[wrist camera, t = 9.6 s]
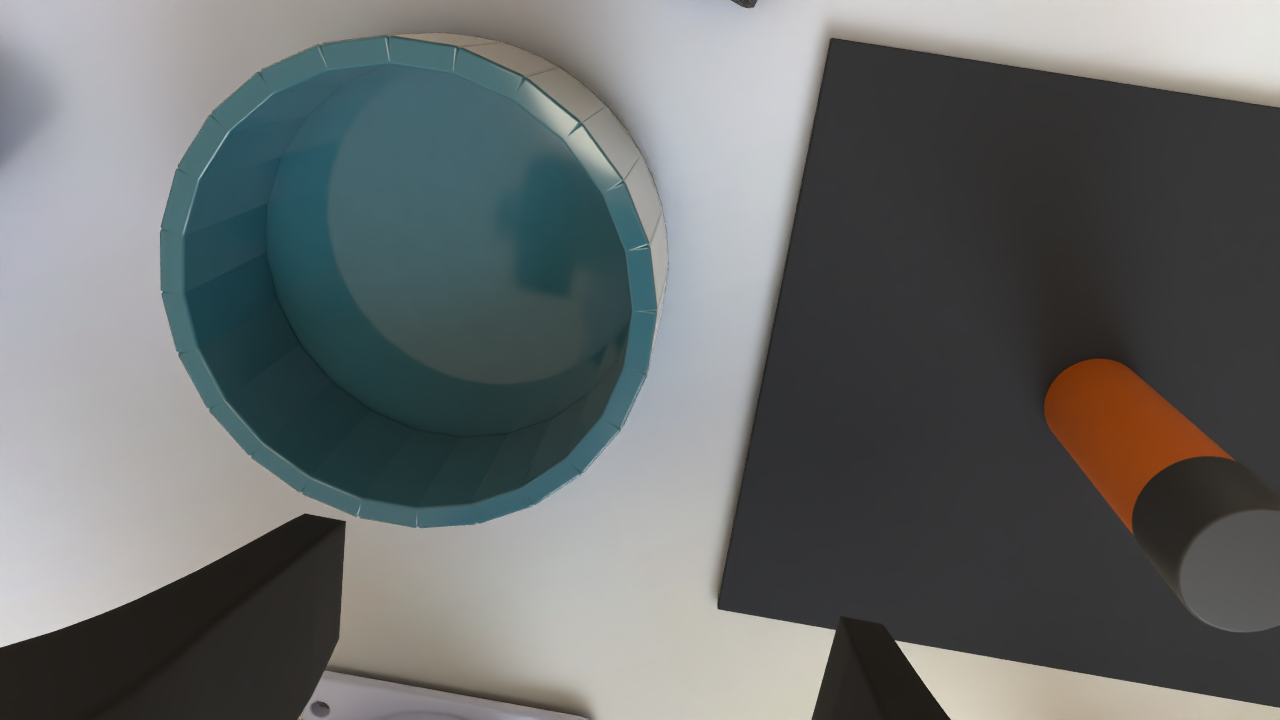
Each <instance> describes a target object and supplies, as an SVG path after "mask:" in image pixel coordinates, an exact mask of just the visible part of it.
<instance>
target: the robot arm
mask: <svg viewBox="0 0 1280 720" xmlns="http://www.w3.org/2000/svg"><path fill="white" fill-rule="evenodd" d="M345 527H346V521H341V520H336V519H331V518H326V517H320V516H315V515H310V514H303V515H301V516H299V517H297V518H295V519H293V520H291V521H289V522H287V523H285V524H283V525H281V526H279V527H278V528H276V529H274V530H272V531H270V532H268V533H267V534H265V535H263V536H261V537H259V538H257V539H256V540H254V541H252V542H250V543H248V544H247V545H245V546H243V547H241V548H239V549H237V550H235V551H233V552H232V553H230V554H228V555H226V556H224V557H222V558H220V559H218V560H217V561H215V562H213V563H211V564H209V565H207V566H205V567H203V568H201V569H200V570H198V571H196V572H194V573H191V574H189V575H187V576H185V577H183V578H181V579H179V580H177V581H175V582H172V583H170V584H168V585H166V586H164V587H162V588H160V589H158V590H156V591H153V592H151V593H149V594H147V595H145V596H143V597H141V598H139V599H137V600H134V601H132V602H130V603H127V604H125V605H123V606H120V607H118V608H115V609H113V610H110V611H108V612H106V613H103V614H101V615H98V616H95V617H93V618H90V619H87V620H84V621H82V622H79V623H76V624H74V625H71V626H68V627H66V628H63V629H60V630H57V631H54V632H51V633H48V634H45V635H41V636H38V637H35V638H31V639H28V640H25V641H21V642H18V643H15V644H11V645H8V646H5V647H1V648H0V720H298V718H299V716H300V715H301V713H302V712H303V718H302V720H589V719H587V718H584V717H582V716H576V715H571V714H565V713H559V712H554V711H548V710H543V709H537V708H532V707H526V706H520V705H515V704H509V703H504V702H498V701H493V700H487V699H481V698H476V697H470V696H465V695H459V694H454V693H448V692H442V691H437V690H431V689H426V688H420V687H415V686H409V685H403V684H398V683H392V682H387V681H381V680H376V679H370V678H364V677H359V676H353V675H348V674H342V673H337V672H331V671H324V670H325V668H326V666H327V664H328V662H329V659H330V657H331V655H332V653H333V651H334V648H335V646H336V644H337V642H338V640H339V631H340V613H341V596H342V579H343V561H344V544H345ZM317 701H322V702H324V703H326V704H327V705H328V706H329V708H324V707H322V706H320V705H319V704H318V703H317ZM812 720H951V719H950V718H949V717H948V716H947V714H946V713H945V712H944V710H943V709H942V708H941V706H940V705H939V703H938V702H937V701H936V699H935V698H934V697H933V695H932V694H931V693H930V691H929V690H928V688H927V687H926V686H925V684H924V683H923V681H922V680H921V678H920V677H919V676H918V674H917V673H916V671H915V670H914V668H913V667H912V665H911V664H910V663H909V661H908V660H907V658H906V657H905V655H904V654H903V652H902V651H901V649H900V648H899V646H898V645H897V644H896V642H895V641H894V639H893V638H892V636H891V635H890V633H889V632H888V630H887V629H886V628H885V626H884V625H883V624H880V623H875V622H870V621H864V620H859V619H854V618H849V617H843V616H840V618H839V622H838V625H837V629H836V633H835V636H834V640H833V644H832V647H831V651H830V655H829V658H828V662H827V666H826V669H825V673H824V677H823V680H822V684H821V688H820V691H819V695H818V699H817V702H816V706H815V709H814V713H813V717H812Z"/></svg>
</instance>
